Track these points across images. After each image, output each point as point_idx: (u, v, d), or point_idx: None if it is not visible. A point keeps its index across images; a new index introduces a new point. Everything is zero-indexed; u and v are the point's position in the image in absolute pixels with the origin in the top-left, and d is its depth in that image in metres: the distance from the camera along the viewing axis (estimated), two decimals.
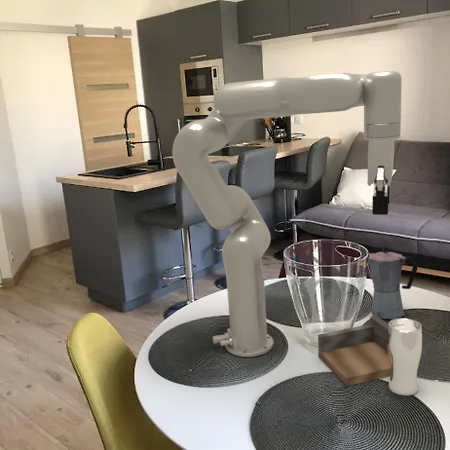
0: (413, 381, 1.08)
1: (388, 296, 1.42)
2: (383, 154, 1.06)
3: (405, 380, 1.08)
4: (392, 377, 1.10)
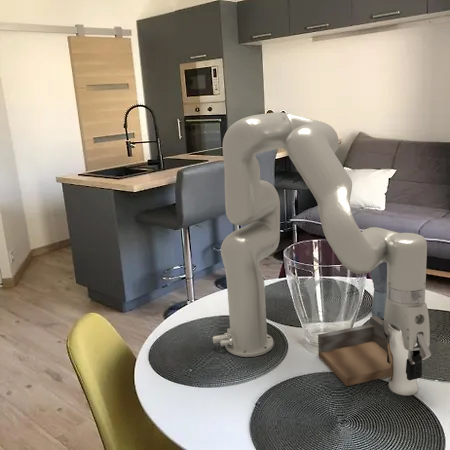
0: (413, 381, 1.08)
1: None
2: None
3: (405, 380, 1.08)
4: (392, 377, 1.10)
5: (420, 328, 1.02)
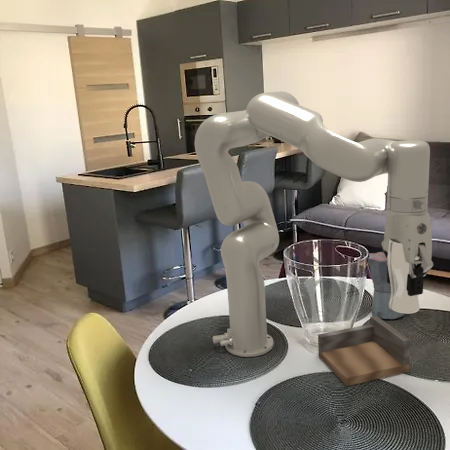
0: (414, 298, 1.03)
1: (388, 296, 1.42)
2: None
3: (406, 297, 1.03)
4: (392, 295, 1.05)
5: (422, 238, 0.98)
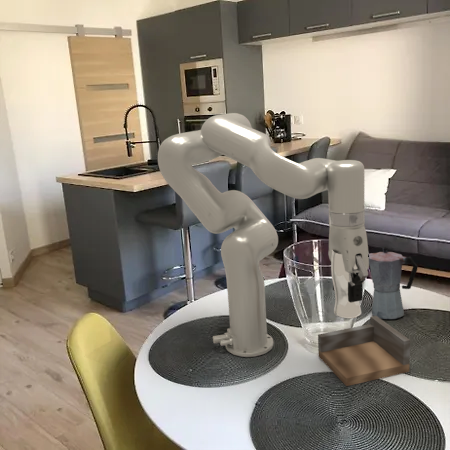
0: (355, 304, 1.13)
1: (388, 295, 1.42)
2: None
3: (347, 303, 1.12)
4: (336, 302, 1.14)
5: (358, 249, 1.07)
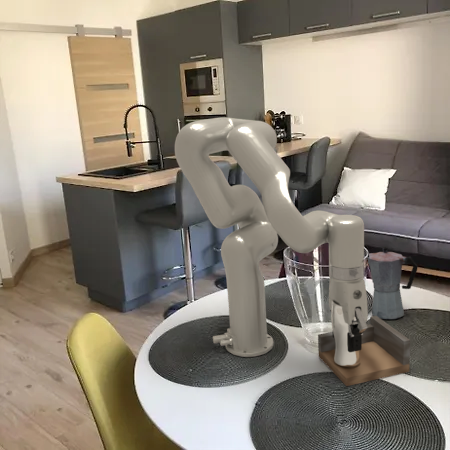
0: (355, 353, 1.16)
1: (388, 295, 1.42)
2: None
3: (347, 352, 1.16)
4: (336, 350, 1.18)
5: (358, 303, 1.10)
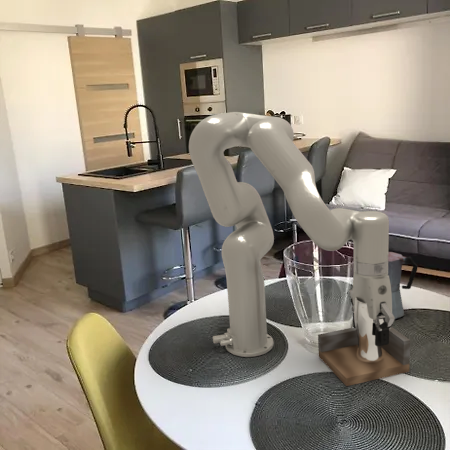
0: (377, 350, 1.18)
1: None
2: None
3: (370, 349, 1.17)
4: (359, 347, 1.19)
5: (383, 298, 1.12)
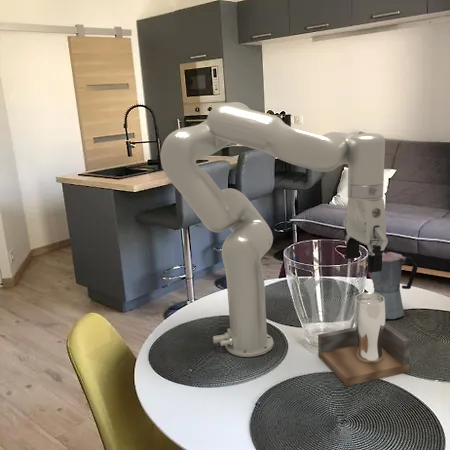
0: (377, 350, 1.18)
1: (388, 296, 1.42)
2: None
3: (370, 349, 1.17)
4: (359, 347, 1.19)
5: (376, 221, 1.09)
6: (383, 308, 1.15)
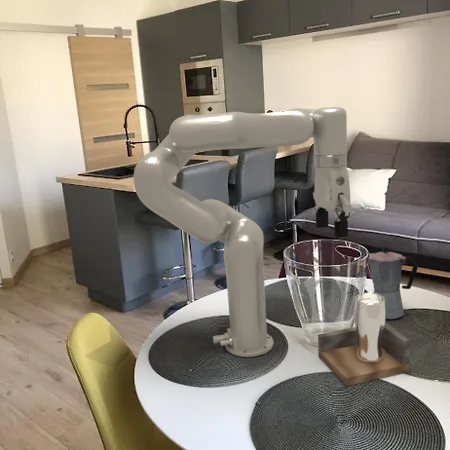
0: (377, 350, 1.18)
1: (388, 296, 1.42)
2: None
3: (370, 349, 1.17)
4: (359, 347, 1.19)
5: (341, 189, 1.16)
6: (383, 308, 1.15)
